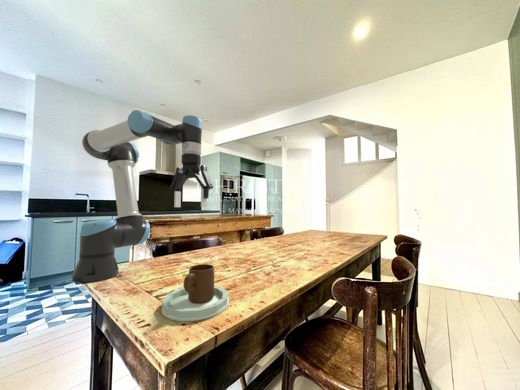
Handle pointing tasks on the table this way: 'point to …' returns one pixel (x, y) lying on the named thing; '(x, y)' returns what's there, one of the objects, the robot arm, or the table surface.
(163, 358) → the table surface
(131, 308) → the table surface
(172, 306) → the shallow round dish
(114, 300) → the table surface
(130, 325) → the table surface
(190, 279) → the mug
